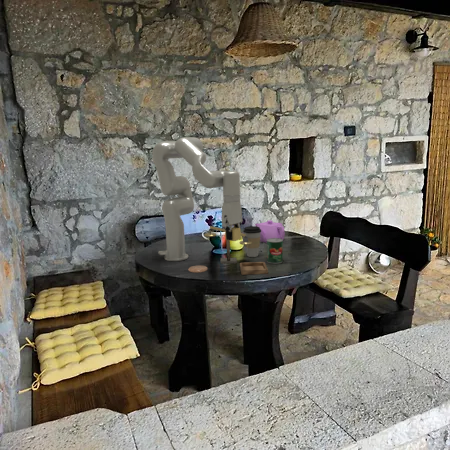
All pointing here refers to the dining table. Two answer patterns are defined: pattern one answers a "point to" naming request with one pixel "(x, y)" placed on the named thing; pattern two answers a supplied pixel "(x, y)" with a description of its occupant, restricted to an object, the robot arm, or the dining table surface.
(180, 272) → the dining table surface
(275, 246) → the canned tomato
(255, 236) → the coffee cup
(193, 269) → the terracotta dish
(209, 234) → the balance
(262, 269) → the walnut tray
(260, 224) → the teakettle
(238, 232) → the ochre block
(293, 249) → the dining table surface
